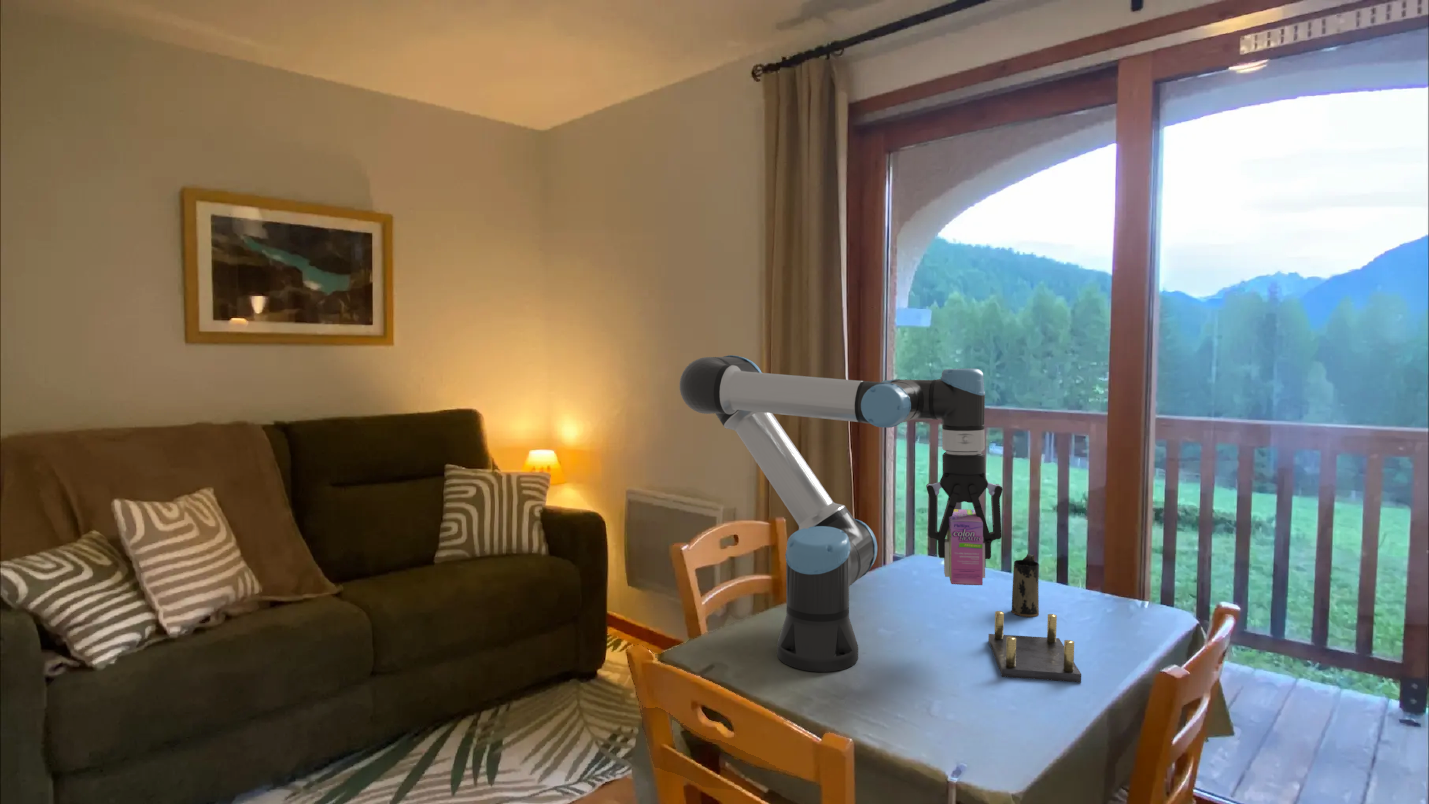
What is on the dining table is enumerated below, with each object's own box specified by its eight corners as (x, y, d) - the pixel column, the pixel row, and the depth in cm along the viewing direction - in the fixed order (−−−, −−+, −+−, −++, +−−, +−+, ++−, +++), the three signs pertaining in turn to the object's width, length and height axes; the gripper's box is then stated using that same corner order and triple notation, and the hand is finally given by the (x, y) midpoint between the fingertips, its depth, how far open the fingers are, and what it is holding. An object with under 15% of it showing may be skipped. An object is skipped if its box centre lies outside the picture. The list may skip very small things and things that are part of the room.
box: (983, 585, 144) (983, 520, 143) (950, 584, 145) (949, 520, 144) (977, 569, 154) (976, 509, 153) (946, 569, 155) (945, 508, 154)
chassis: (1001, 676, 140) (1002, 640, 140) (988, 641, 157) (989, 608, 157) (1081, 682, 138) (1082, 645, 137) (1058, 645, 154) (1059, 612, 154)
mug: (1035, 619, 169) (1037, 563, 168) (1008, 614, 172) (1009, 559, 171) (1043, 608, 176) (1044, 555, 175) (1017, 604, 179) (1018, 551, 178)
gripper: (912, 454, 146) (913, 579, 147) (1020, 454, 142) (1020, 582, 144) (910, 449, 153) (912, 568, 155) (1013, 449, 149) (1013, 571, 151)
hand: (964, 574), depth 149 cm, fingers closed on box, 6 cm apart
